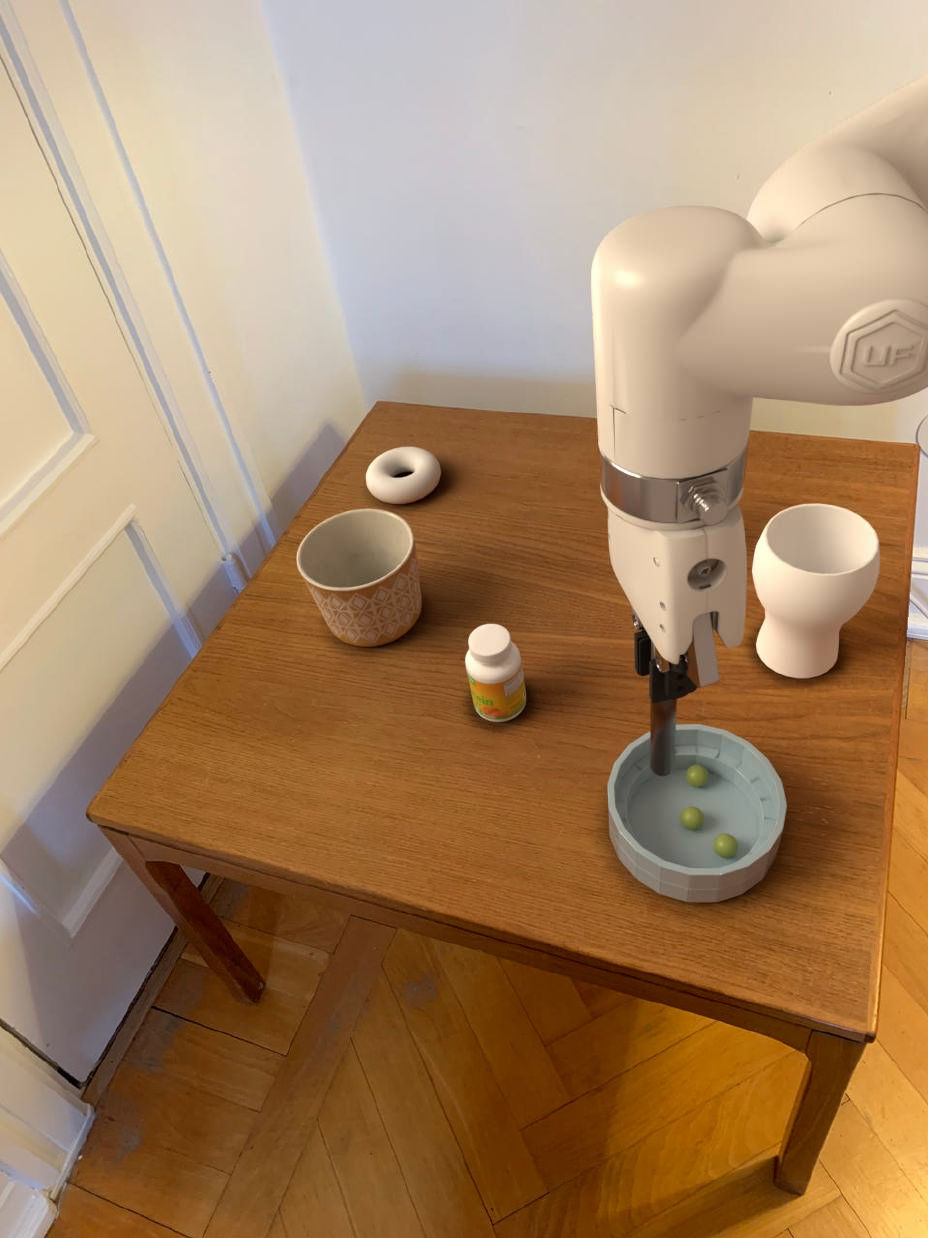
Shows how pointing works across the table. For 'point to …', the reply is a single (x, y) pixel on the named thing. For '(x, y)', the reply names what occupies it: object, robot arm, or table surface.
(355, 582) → the planter
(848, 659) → the table surface
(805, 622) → the cup
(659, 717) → the stick
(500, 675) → the supplement bottle
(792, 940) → the table surface
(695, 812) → the pea
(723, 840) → the pea
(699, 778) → the pea
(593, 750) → the table surface
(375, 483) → the donut
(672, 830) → the bowl
